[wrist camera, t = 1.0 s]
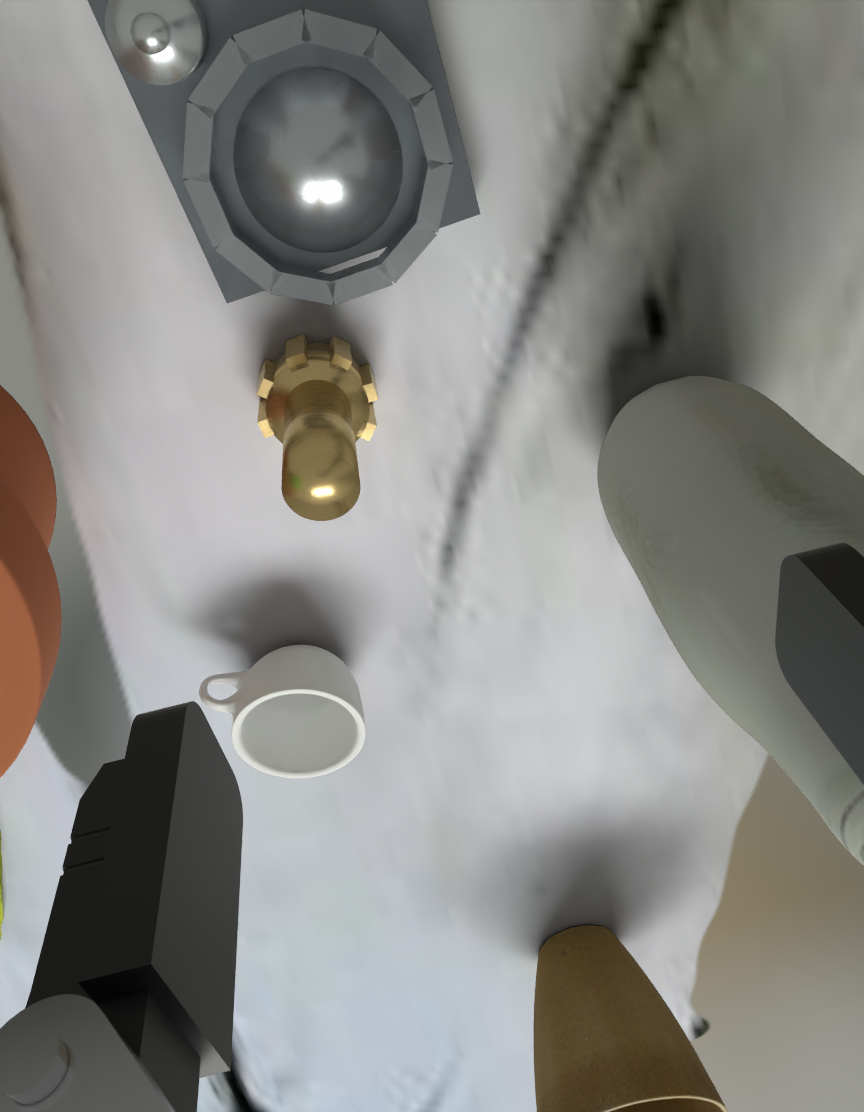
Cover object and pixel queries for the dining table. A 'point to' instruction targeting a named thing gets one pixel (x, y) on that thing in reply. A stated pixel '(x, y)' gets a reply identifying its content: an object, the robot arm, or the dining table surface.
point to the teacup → (293, 712)
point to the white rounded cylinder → (734, 555)
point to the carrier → (297, 134)
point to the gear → (318, 423)
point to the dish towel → (0, 901)
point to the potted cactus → (25, 577)
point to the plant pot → (609, 1034)
